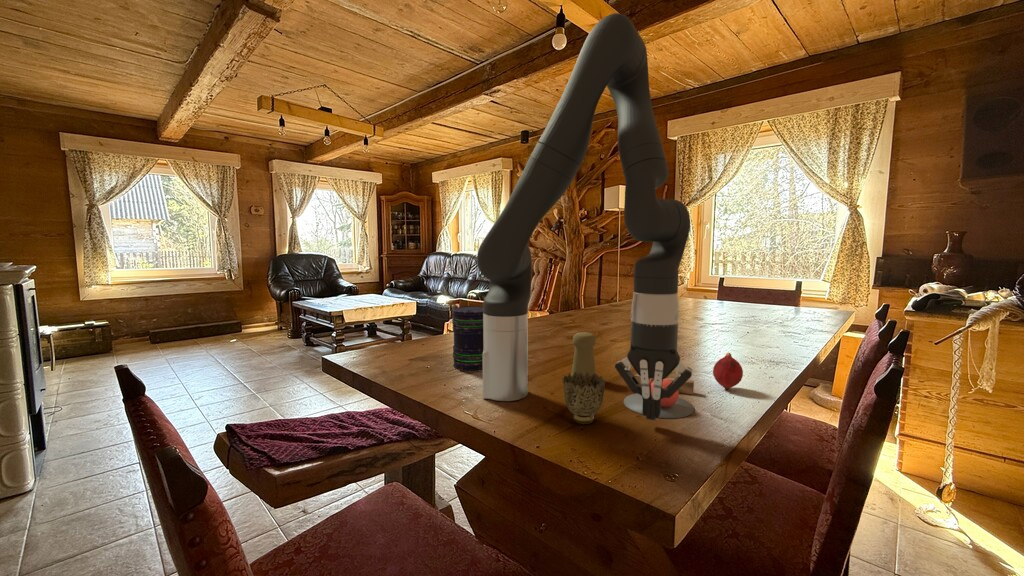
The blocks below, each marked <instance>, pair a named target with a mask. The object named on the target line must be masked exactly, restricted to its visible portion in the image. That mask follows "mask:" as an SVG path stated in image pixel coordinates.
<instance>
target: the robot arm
mask: <svg viewBox="0 0 1024 576" xmlns="http://www.w3.org/2000/svg"><path fill="white" fill-rule="evenodd" d="M582 45H583V46H582V47H581V49H580V52H579V54H578V56H577V59H576V62H575V64H574V66H573V69H572V71H571V73H570V76H569V78H568V81H567V84H566V86H565V87H564V90H563V93H562V94H561V97H560V98H559V101H558V102H557V104H556V107H555V109H554V111H553V113H552V115H551V116H550V119H549V121H548V123H547V125H546V126H545V129H544V130H543V131H542V133H541V136H540V138H539V139H538V140H537V142H536V144H535V147H534V149H532V151H531V154H530V156H529V158H528V160H527V162H526V164H525V167H524V169H523V171H522V172H521V175H520V176H519V178H518V180H517V182H516V184H515V186H514V188H513V191H512V192H511V194H510V197H509V198H508V201H507V203H506V205H505V206H504V208H503V210H502V211H501V213H500V214H499V216H498V217H497V219H496V220H495V222H494V224H493V225H492V226H491V228H490V230H489V231H488V233H487V234H486V236H485V237H484V239H483V240H482V242H481V244H480V245H479V248H478V250H477V256H476V264H477V267H478V270H479V272H480V274H481V275H482V276H483V277H484V278H486V279H487V280H489V287H488V291H487V293H486V296H485V297H484V299H483V301H482V307H483V370H482V399H488V400H491V401H492V400H493V401H499V402H512V401H518V400H522V399H524V398H526V397H527V396H528V393H529V390H528V387H529V382H528V381H529V380H528V379H529V378H528V377H529V376H528V373H529V372H528V370H529V368H528V367H529V366H528V363H529V362H528V361H529V360H528V359H529V354H528V353H529V352H528V351H529V350H528V347H529V345H528V344H529V343H528V342H529V337H528V336H529V335H528V334H529V333H528V331H529V326H528V325H529V323H528V321H529V319H528V318H529V314H528V313H529V311H528V310H529V302H530V300H531V299H530V298H531V291H532V268H533V267H532V265H533V264H532V263H533V262H532V253H531V249H530V247H529V242H530V239H531V237H532V235H533V234H534V232H535V230H536V228H537V226H538V225H539V224H540V222H541V220H542V219H543V218H544V217H545V216H546V215H547V213H548V212H549V211H550V210H551V209H552V208H553V207H554V206H555V205H556V204H557V203H558V201H559V200H561V198H562V197H563V196H564V194H565V192H567V190H568V189H569V187H570V186H571V184H572V183H573V180H574V179H575V177H576V175H577V173H578V171H579V170H580V168H581V166H582V164H583V162H584V160H585V158H586V155H587V153H588V149H589V145H590V139H591V134H592V133H591V132H592V127H593V122H594V117H595V114H596V113H595V112H596V110H597V106H598V104H599V101H600V99H601V97H602V95H603V94H604V91H605V89H606V88H607V89H608V91H609V94H610V95H611V97H612V98H611V99H612V100H613V103H614V106H615V111H616V114H617V147H618V155H619V159H620V163H621V169H622V172H623V176H624V180H625V187H624V189H625V190H624V205H623V206H624V210H623V216H624V217H623V221H624V224H625V225H624V226H625V228H626V231H627V232H628V233H629V234H630V236H631V237H632V238H633V239H634V240H636V241H638V242H642V243H643V242H644V243H649V242H650V243H651V242H652V246H651V249H650V251H649V253H648V254H647V255H645V256H643V257H640V258H638V259H637V260H636V261H635V263H634V267H633V268H634V270H633V292H632V293H633V295H632V301H631V309H630V347H629V350H628V351H627V355H626V357H624V358H623V359H619V360H618V361H617V362H616V363H615V364H614V368H615V370H616V371H617V372H618V374H619V376H620V377H621V378H622V380H624V383H626V385H627V387H628V388H629V390H630V391H631V392H632V394H640V395H641V396H642V398H643V410H642V413H643V416H644V417H645V416H646V417H645V419H646V420H648V421H649V420H650V421H656V419H659V418H658V417H659V415H660V413H661V399H662V398H670V397H671V396H672V395H673V394H674V393H675V392H676V391H677V390H678V389H679V388H680V387H681V386H682V385H683V384H684V383H685V382H686V381H687V380H690V378H691V377H692V375H693V368H691V367H688V366H686V365H684V364H683V363H682V362H681V357H680V355H679V353H678V339H679V338H678V335H679V318H680V317H679V311H680V310H679V308H680V306H679V298H678V297H679V296H678V292H679V291H678V290H679V267H680V264H681V261H682V259H683V256H684V253H685V249H686V245H687V241H688V239H689V235H690V231H691V218H690V213H689V211H688V210H689V209H688V208H687V206H686V205H685V204H684V203H683V202H682V201H679V200H677V199H671V198H658V197H657V193H656V189H658V188H661V186H663V185H664V184H666V182H667V181H668V179H669V166H668V163H667V159H666V155H665V151H664V147H663V144H662V139H661V136H660V133H659V128H658V125H657V122H656V118H655V114H654V110H653V106H652V104H653V103H652V98H651V92H650V79H649V63H648V51H647V46H646V43H645V42H644V39H643V38H642V36H641V35H640V33H639V32H638V30H637V28H636V27H635V25H634V23H633V22H632V21H631V20H630V18H629V17H628V16H626V15H625V14H622V13H617V12H616V13H614V12H613V13H610V14H608V15H606V16H604V17H603V18H601V19H600V20H599V21H598V22H597V23H596V24H595V25H594V26H593V27H592V29H591V30H590V32H589V33H588V35H587V36H586V39H585V41H584V42H583V44H582ZM631 366H632V367H633V369H634V370H635V372H636V374H638V375H640V376H641V385H640V383H639V382H638V380H637V379H636V378H635V374H634V373H633V372H632V370H631V368H632V367H631ZM675 369H676V372H675V376H676V377H675V379H674V380H673V381H672V382H671V383H670V384H669V385H668V386H667V387H666V388H663V389H662V385H663V379H665V378H669V376H670V374H672V372H673V371H674V370H675ZM651 378H653V379H654V385H653V386H654V387H653V396H652V395H651Z"/></svg>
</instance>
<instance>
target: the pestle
mask: <svg viewBox="0 0 1024 576" xmlns="http://www.w3.org/2000/svg"><path fill="white" fill-rule="evenodd" d="M596 341H597V340H596V336H595V334H593V333H591V332H587V331H585V332H583V331H580V332H576V333H574V335H573V337H572V344H573V346H574V352H573V358H572V359H573V360H572V367H571V374H570V375H571V376H573V375H574V373H575V372H576V373H577V374H578V373H579V372H581V373H582V374H583V375H584V376H585V374H586V373H587V372H588V373H589V374H590V375H589V376H591V375H593V374H594V373H596V374H597V371H596V362H595V354H594V353H595V352H594V346H595V345H596Z"/></svg>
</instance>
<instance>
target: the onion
mask: <svg viewBox="0 0 1024 576" xmlns="http://www.w3.org/2000/svg"><path fill="white" fill-rule="evenodd" d="M712 375H713V377H714V379H715V381H716V382H717V384H719V385H720V386H721V387H722V388H724V389H726V390H729V389H731V388H733V387H735V386H737V385H738V384H739V383H740V382H741V381H742V380H743V376H744V369H743V367H742V365H741V364H740V362H739V361H738V360H737V359H736V358H734V357H733V356H732V353H731V352H726V353H725V356H723V357H721V358H720V359H718V360H717V361H716V362H715V364H714V365H713V369H712Z"/></svg>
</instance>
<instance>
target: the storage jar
mask: <svg viewBox="0 0 1024 576" xmlns="http://www.w3.org/2000/svg"><path fill="white" fill-rule="evenodd" d="M451 325H452V332H453V346H452V351H453V352H452V358H453V359H452V361H453V364H452V365H453V367H454V368H455V369H454V370H456V369H457V370H456V371H459V370H461V371H460V372H466V371H475V372H480V371H479V370H482V371H483V306H480V305H478V306H475V305H474V306H473V305H469V306H457V307H454V308H452V322H451Z"/></svg>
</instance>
